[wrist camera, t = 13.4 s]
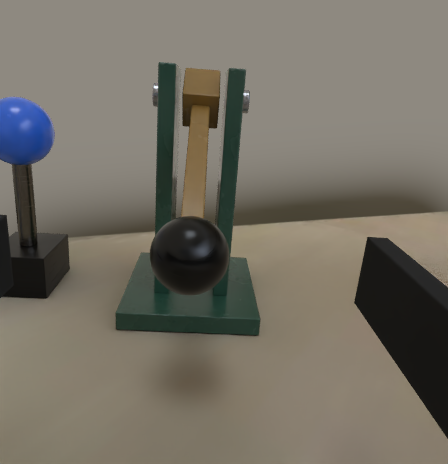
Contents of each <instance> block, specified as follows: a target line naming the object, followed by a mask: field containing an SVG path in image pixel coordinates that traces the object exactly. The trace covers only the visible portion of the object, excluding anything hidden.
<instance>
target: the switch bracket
mask: <svg viewBox="0 0 448 464" xmlns="http://www.w3.org/2000/svg"><path fill="white" fill-rule="evenodd" d="M245 76H246V70H245V69H236V68H229V69H228V70H227V72H226V75H225V90H224V103H223V118H222V132H221V146H220V161H219V175H218V189H217V190H218V191H217V205H216V219H215V225H216V226H217V227H218V228H219V229H220V231H221V232H222V233H223V235H224V237H225V239H226V241H227V243H228V247H229V264H228V268H227V270H226V273H225V275H224V276H223V278H222V279H221V281H220V282H219V283H218V284H217V285H216V286H215V287H213V288H212V289H211V290H209V291H207V292H204V293H202V294H198V295H188V296H187V295H181V294H177V293H174V292H172V291H170V290H168V289H167V288H165V287H164V286H163V285H162V284H161V283H160V282H159V281H158V280H157V278H156V276H155V275H154V273H153V270H152V267H151V263H150V253H141V254H140V257H139V259H138V261H137V264H136V266H135V268H134V271H133V273H132V276H131V278H130V280H129V283H128V285H127V287H126V290H125V292H124V295H123V297H122V299H121V302H120V304H119V307H118V309H117V311H116V329H122V330H146V331H170V332H193V333H217V334H240V335H258V334H259V327H260V316H259V312H258V307H257V303H256V299H255V294H254V290H253V286H252V281H251V277H250V273H249V268H248V264H247V260H246V258H234V257H230V253H231V241H232V229H233V217H234V204H235V193H236V182H237V170H238V158H239V147H240V135H241V123H242V113H248V109H249V99H250V92H249V90H244V88H245ZM180 82H181V68H179V66H178V65H177V64H175V63H163V62H159V65H158V83H154V85H153V105H154V106H157V107H158V116H157V118H158V119H157V122H158V123H157V169H156V170H157V171H156V220H155V236H156V234H157V232H158V231H159V230H160V229H161V228H162V227H163V226H164V225H165V224H167V223H168V222H170V221H172V220H174V219H176V192H177V165H178V164H177V163H178V137H179V136H178V135H179V110H180V109H179V108H180V107H179V106H180Z"/></svg>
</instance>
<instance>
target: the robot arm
mask: <svg viewBox="0 0 448 464" xmlns="http://www.w3.org/2000/svg"><path fill="white" fill-rule="evenodd" d="M13 285H14V282H13V273H12V263H11V253H10V244H9V234H8V226H7V216H6V215H0V298H1V297H2V296H3V295H4V294H5V293H6V292H7V291H8V290H9V289H10V288H11V287H12V286H13ZM354 303H355V304H356V306H357V307H358V309H359V310H360V312H361V313H362V315H363V316H364V317H365V319H366V320H367V322H368V323H369V325H370V326H371V328H372V329H373V331H374V332H375V333H376V335H377V336H378V338H379V339H380V341H381V342H382V344H383V345H384V347H385V348H386V349H387V351H388V352H389V354H390V355H391V357H392V358H393V360H394V361H395V363H396V364H397V365H398V367H399V368H400V370H401V371H402V373H403V374H404V376H405V377H406V379H407V380H408V382H409V383H410V384H411V386H412V387H413V389H414V390H415V392H416V393H417V395H418V396H419V398H420V399H421V400H422V402H423V403H424V405H425V406H426V408H427V409H428V411H429V412H430V414H431V415H432V416H433V418H434V419H435V421H436V422H437V424H438V425H439V427H440V428H441V430H442V431H443V432H444V434H445V435H446V437H447V438H448V287H447V286H445V285H444V284H443V283H442V282H440V281H439V280H438V279H437V278H436V277H434V276H433V275H432V274H431V273H429V272H428V271H427V270H426V269H425V268H423V267H422V266H421V265H420V264H418V263H417V262H416V261H415V260H414V259H412V258H411V257H410V256H409V255H407V254H406V253H405V252H404V251H403V250H401V249H400V248H399V247H398V246H396V245H395V244H394V243H393V242H392V241H390V240H389V239H388V238H375V237H367V242H366V247H365V252H364V257H363V262H362V267H361V272H360V277H359V282H358V287H357V292H356V297H355V302H354Z"/></svg>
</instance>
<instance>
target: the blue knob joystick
mask: <svg viewBox="0 0 448 464" xmlns="http://www.w3.org/2000/svg"><path fill="white" fill-rule="evenodd" d="M54 136H55V132H54V127H53V123H52V121H51V119H50V117H49V116H48V114H47V113H46V112H45V111H44V109H42V108H41V107H40V106H39V105H37V104H36V103H34V102H32V101H30V100H28V99H25V98H20V97H6V98H3V99H0V159H1V160H2V161H4V162H7V163H10V164H12V171H13V182H14V192H15V203H16V213H17V223H18V232H15V233H14V234H12V235H11V236H10V237H9V244H10V253H11V263H12V273H13V282H14V285H13V286H12V287H11V288H10V289H9V290H8V291H7V292H6V293H5V294H4V295H3V296H10V297H31V298H47V297H48V296H49V294H50V293H51V292H52V291H53V289H54V288H55V287H56V286H57V284H58V283H59V282H60V280H61V279H62V278H63V277H64V275H65V274H66V273H67V272H68V270H69V269H70V266H69V248H68V235H67V234H49V233H37V227H36V215H35V203H34V190H33V178H32V165H31V164H33V163H36V162H38V161H40V160H41V159H43V158H44V157H45V156H46V155H47V154H48V153H49V151H50V150H51V148H52V146H53V142H54Z"/></svg>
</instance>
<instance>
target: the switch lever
mask: <svg viewBox="0 0 448 464" xmlns="http://www.w3.org/2000/svg"><path fill="white" fill-rule="evenodd" d="M219 98H220V71H218V70H206V69H193V68H186V70H185V78H184V87H183V126H189V138H188V148H187V159H186V170H185V179H184V190H183V200H182V210H181V217H179V218H176V219H174V220H172V221H170V222H168V223H167V224H165V225H164V226H163V227H162V228H161V229H160V230H159V231H158V232H157V234H156V236H155V237H154V239H153V242H152V245H151V249H150V263H151V267H152V270H153V273H154V275H155V276H156V278H157V280H158V281H159V282H160V283H161V284H162V285H163V286H164V287H165V288H167V289H168V290H170V291H172V292H174V293H177V294H181V295H187V296H188V295H198V294H202V293H204V292H207V291H209V290H211V289H212V288H213V287H215V286H216V285H217V284H218V283H219V282H220V281H221V279H222V278H223V276H224V275H225V273H226V270H227V268H228V264H229V247H228V243H227V241H226V239H225V237H224V235H223V233H222V232H221V231H220V229H219V228H218V227H217V226H216V225H214V224H213V223H211V222H210V221H208V220H206V219H204V209H205V190H206V169H207V150H208V130H209V128H217V122H218V110H219Z"/></svg>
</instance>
